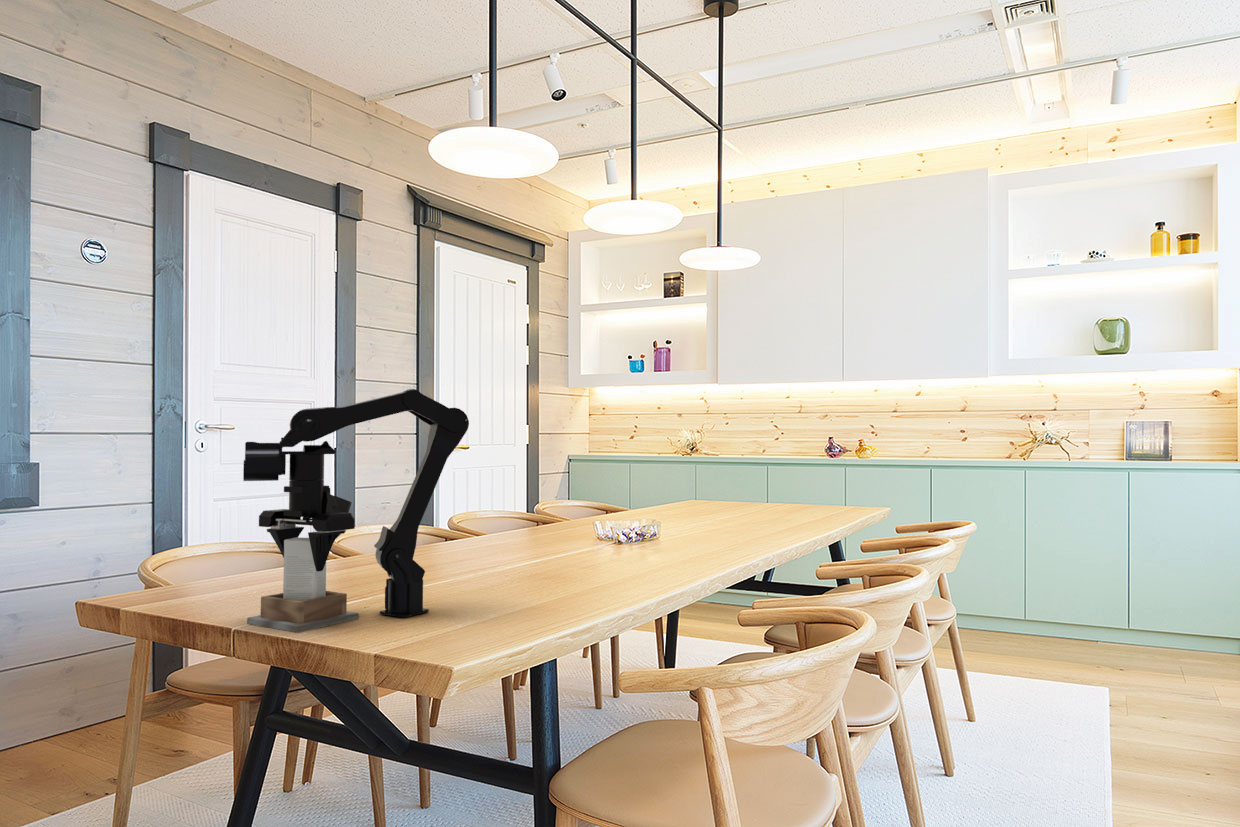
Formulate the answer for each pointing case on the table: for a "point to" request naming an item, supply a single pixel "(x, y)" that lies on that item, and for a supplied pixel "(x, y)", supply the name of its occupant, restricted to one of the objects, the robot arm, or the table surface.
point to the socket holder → (303, 612)
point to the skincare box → (301, 572)
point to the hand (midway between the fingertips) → (305, 569)
